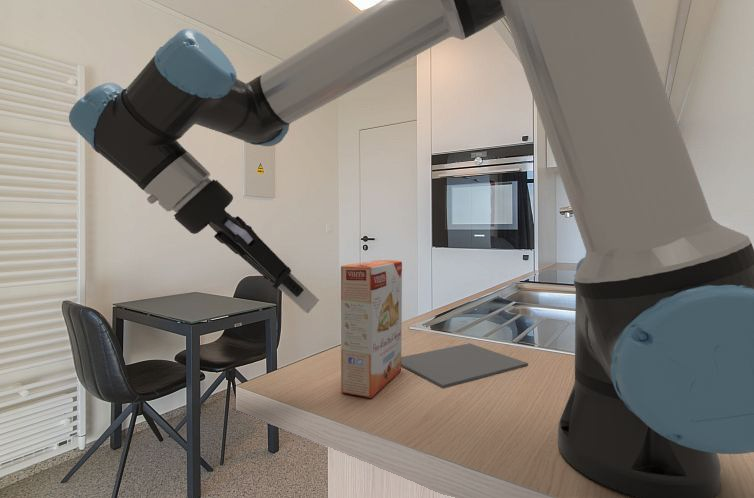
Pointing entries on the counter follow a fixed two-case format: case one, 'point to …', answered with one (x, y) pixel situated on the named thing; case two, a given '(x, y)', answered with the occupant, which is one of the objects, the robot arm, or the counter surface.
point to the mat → (459, 364)
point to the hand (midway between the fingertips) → (311, 305)
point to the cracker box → (370, 325)
